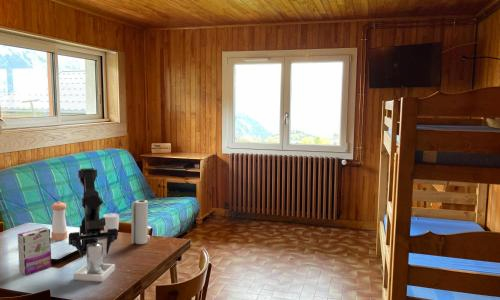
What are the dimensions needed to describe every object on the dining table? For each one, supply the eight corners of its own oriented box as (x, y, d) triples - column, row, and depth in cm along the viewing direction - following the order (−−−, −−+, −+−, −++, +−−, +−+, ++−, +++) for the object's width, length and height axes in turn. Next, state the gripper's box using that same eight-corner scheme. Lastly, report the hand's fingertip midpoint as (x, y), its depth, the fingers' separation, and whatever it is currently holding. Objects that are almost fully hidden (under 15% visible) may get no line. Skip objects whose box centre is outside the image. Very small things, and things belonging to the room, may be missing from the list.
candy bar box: (45, 264, 169) (44, 226, 168) (51, 266, 167) (51, 228, 165) (18, 272, 160) (17, 233, 158) (25, 275, 157) (23, 235, 155)
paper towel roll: (148, 240, 203) (149, 199, 200) (146, 244, 196) (146, 202, 194) (134, 240, 202) (134, 199, 200) (131, 244, 196) (131, 202, 194)
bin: (73, 280, 155) (73, 273, 155) (88, 268, 166) (88, 262, 166) (102, 282, 154) (102, 275, 154) (114, 270, 165) (114, 264, 165)
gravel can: (83, 274, 159) (83, 245, 158) (95, 269, 164) (95, 241, 163) (93, 277, 156) (93, 248, 155) (106, 272, 161) (105, 243, 160)
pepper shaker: (70, 237, 203) (69, 201, 201) (56, 241, 197) (56, 203, 195) (61, 235, 207) (61, 199, 205) (48, 238, 201) (47, 201, 199)
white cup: (104, 236, 207) (104, 217, 206) (102, 232, 214) (102, 214, 213) (120, 234, 210) (120, 216, 209) (117, 230, 217) (117, 212, 216)
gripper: (68, 213, 157) (69, 249, 148) (117, 209, 165) (121, 243, 156) (68, 227, 165) (69, 262, 156) (115, 222, 173) (118, 255, 164)
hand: (95, 255), depth 158 cm, fingers open, 9 cm apart
